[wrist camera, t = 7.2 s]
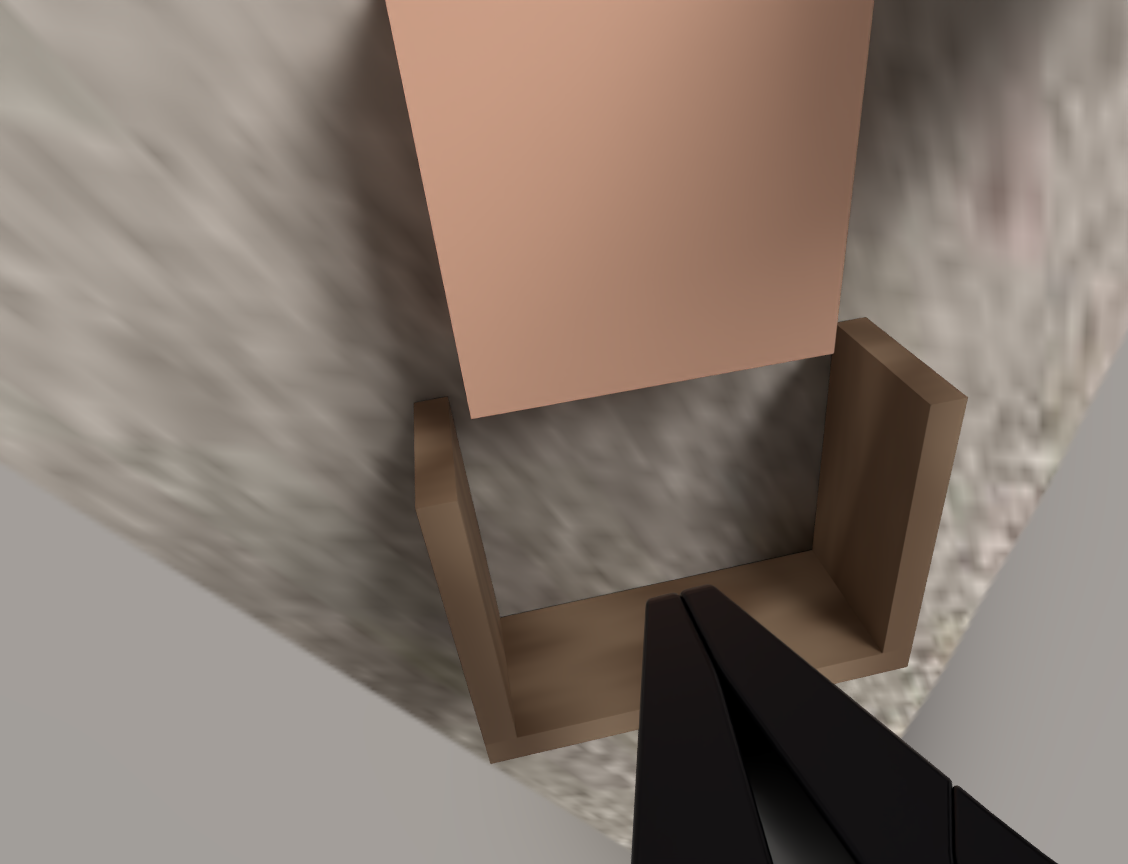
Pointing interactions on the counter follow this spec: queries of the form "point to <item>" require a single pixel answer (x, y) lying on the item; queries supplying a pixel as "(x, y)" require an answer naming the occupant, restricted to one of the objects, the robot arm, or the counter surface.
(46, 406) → the counter surface
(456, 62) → the terracotta block
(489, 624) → the walnut stall
